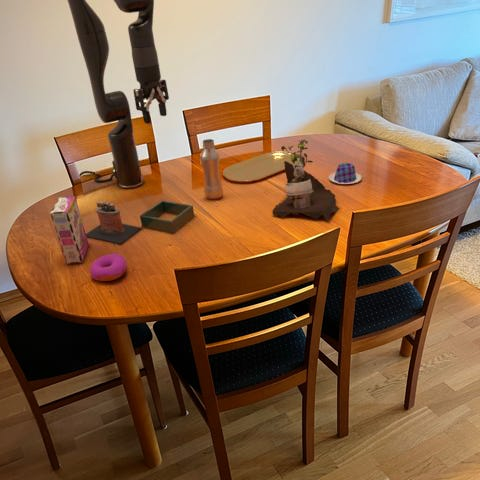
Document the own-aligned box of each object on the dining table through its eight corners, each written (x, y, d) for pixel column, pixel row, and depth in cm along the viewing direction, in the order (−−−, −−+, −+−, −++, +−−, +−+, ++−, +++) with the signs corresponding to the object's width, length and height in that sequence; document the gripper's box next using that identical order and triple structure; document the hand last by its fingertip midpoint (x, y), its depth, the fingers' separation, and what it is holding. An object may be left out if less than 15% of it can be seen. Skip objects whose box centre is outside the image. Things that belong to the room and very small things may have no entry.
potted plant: (272, 225, 151) (262, 145, 142) (287, 214, 167) (279, 141, 158) (333, 220, 143) (326, 135, 134) (342, 209, 160) (337, 132, 150)
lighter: (126, 230, 150) (119, 201, 143) (121, 235, 147) (113, 206, 141) (105, 227, 152) (97, 199, 146) (99, 232, 149) (91, 204, 143)
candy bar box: (83, 263, 136) (67, 211, 126) (66, 264, 136) (48, 213, 125) (90, 244, 145) (75, 195, 134) (74, 246, 144) (57, 196, 134)
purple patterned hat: (351, 171, 176) (352, 157, 173) (367, 182, 167) (369, 167, 164) (323, 176, 174) (323, 163, 171) (338, 188, 165) (339, 174, 162)
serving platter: (310, 162, 186) (310, 158, 185) (242, 188, 170) (242, 184, 169) (279, 152, 198) (279, 148, 197) (213, 175, 182) (213, 171, 181)
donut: (102, 263, 135) (98, 250, 132) (134, 265, 133) (131, 251, 130) (86, 283, 127) (82, 269, 124) (121, 285, 125) (117, 271, 122)
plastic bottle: (221, 201, 163) (215, 144, 150) (203, 200, 164) (195, 144, 152) (225, 193, 168) (220, 137, 155) (207, 193, 169) (201, 137, 157)
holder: (142, 226, 152) (139, 215, 149) (164, 210, 160) (162, 200, 158) (173, 233, 147) (171, 221, 144) (194, 216, 155) (192, 205, 152)
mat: (84, 236, 149) (84, 235, 149) (106, 221, 156) (106, 220, 156) (120, 244, 143) (120, 243, 143) (141, 228, 150) (141, 227, 150)
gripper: (150, 58, 145) (159, 112, 155) (121, 67, 135) (133, 125, 145) (169, 58, 142) (177, 114, 152) (141, 68, 132) (152, 127, 142)
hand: (155, 119), depth 149 cm, fingers open, 8 cm apart
